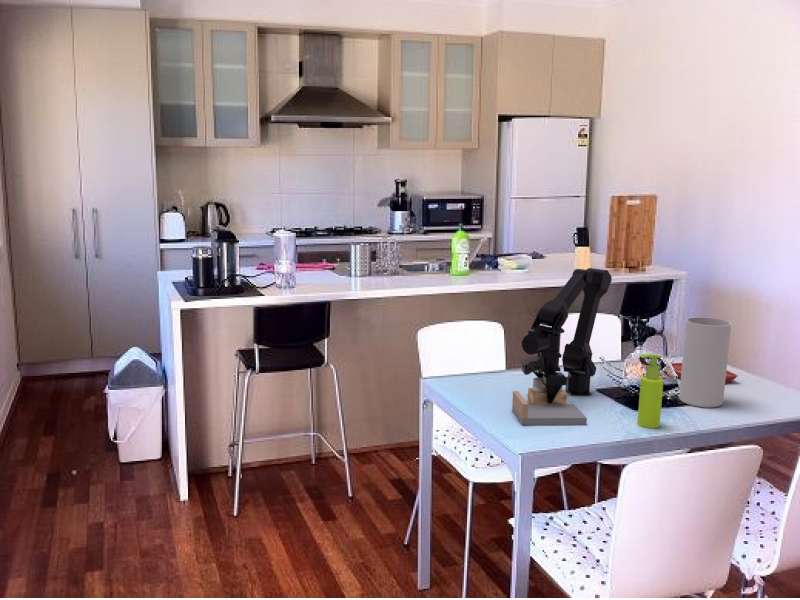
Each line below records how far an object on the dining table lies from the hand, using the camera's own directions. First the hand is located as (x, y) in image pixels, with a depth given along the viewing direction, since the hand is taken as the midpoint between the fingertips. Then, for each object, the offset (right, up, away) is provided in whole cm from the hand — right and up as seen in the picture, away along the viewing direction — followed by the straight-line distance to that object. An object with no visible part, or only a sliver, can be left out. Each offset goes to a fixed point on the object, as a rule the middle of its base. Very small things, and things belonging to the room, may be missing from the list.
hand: (546, 400), depth 231 cm
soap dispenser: (+24, -5, -17) cm, 30 cm away
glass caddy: (0, -1, 0) cm, 1 cm away
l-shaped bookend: (-2, -3, -13) cm, 13 cm away
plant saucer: (+58, +3, +33) cm, 66 cm away
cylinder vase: (+48, -1, +5) cm, 48 cm away
